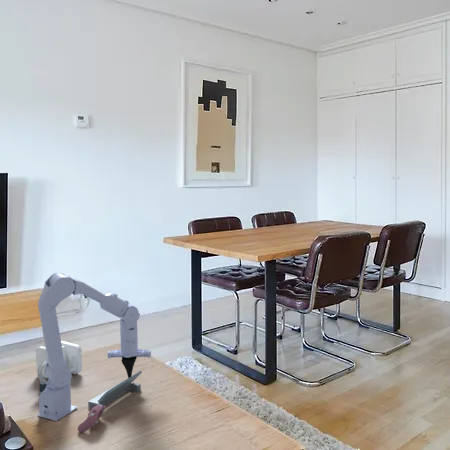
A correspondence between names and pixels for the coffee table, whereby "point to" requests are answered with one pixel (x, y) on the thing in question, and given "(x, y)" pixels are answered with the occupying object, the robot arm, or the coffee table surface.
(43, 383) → the watch
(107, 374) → the coffee table surface
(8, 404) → the coffee table surface
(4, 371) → the coffee table surface
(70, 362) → the cable organizer
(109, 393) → the panel
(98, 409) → the video game controller
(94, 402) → the rail
